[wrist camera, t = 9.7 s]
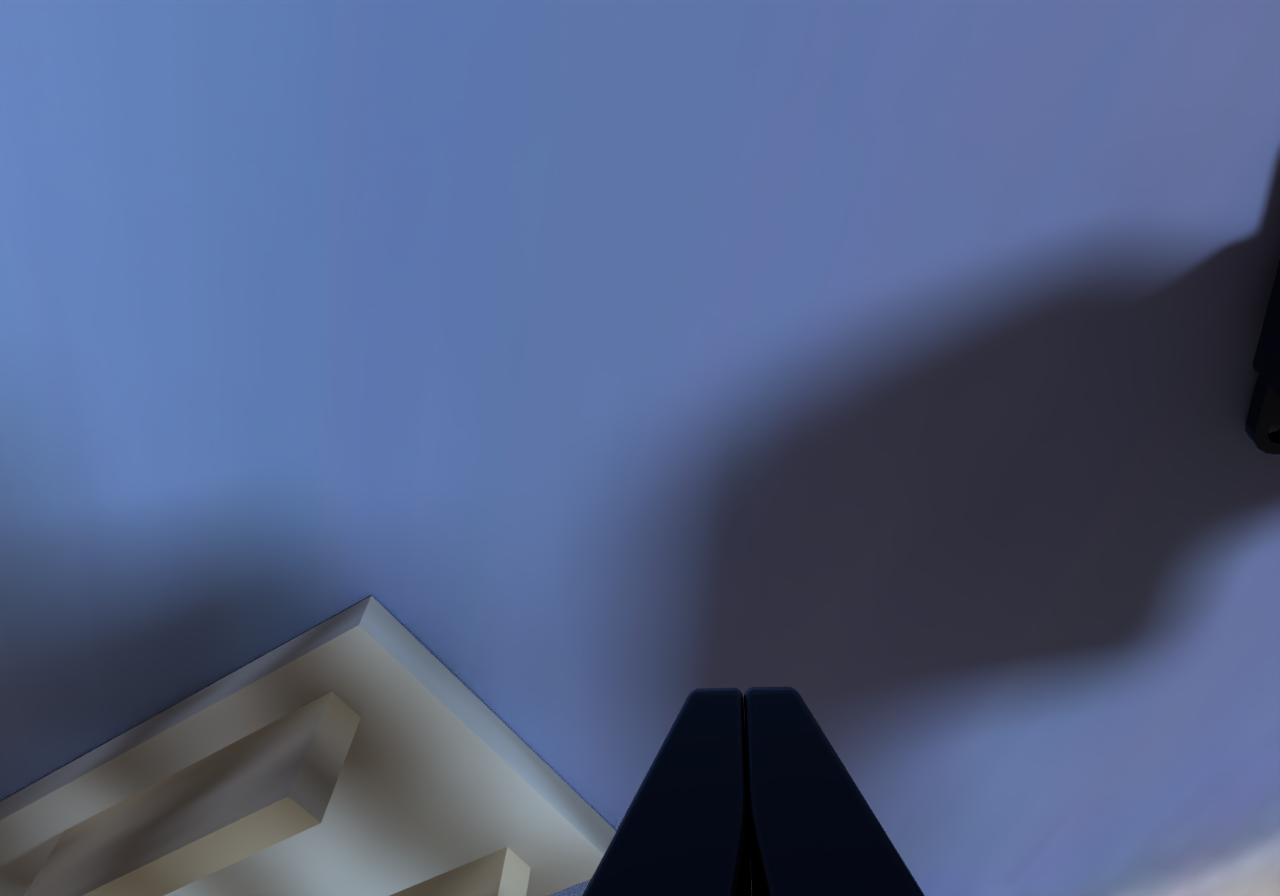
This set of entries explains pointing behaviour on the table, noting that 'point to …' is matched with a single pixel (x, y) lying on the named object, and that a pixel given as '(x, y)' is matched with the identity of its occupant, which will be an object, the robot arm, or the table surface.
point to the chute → (309, 788)
